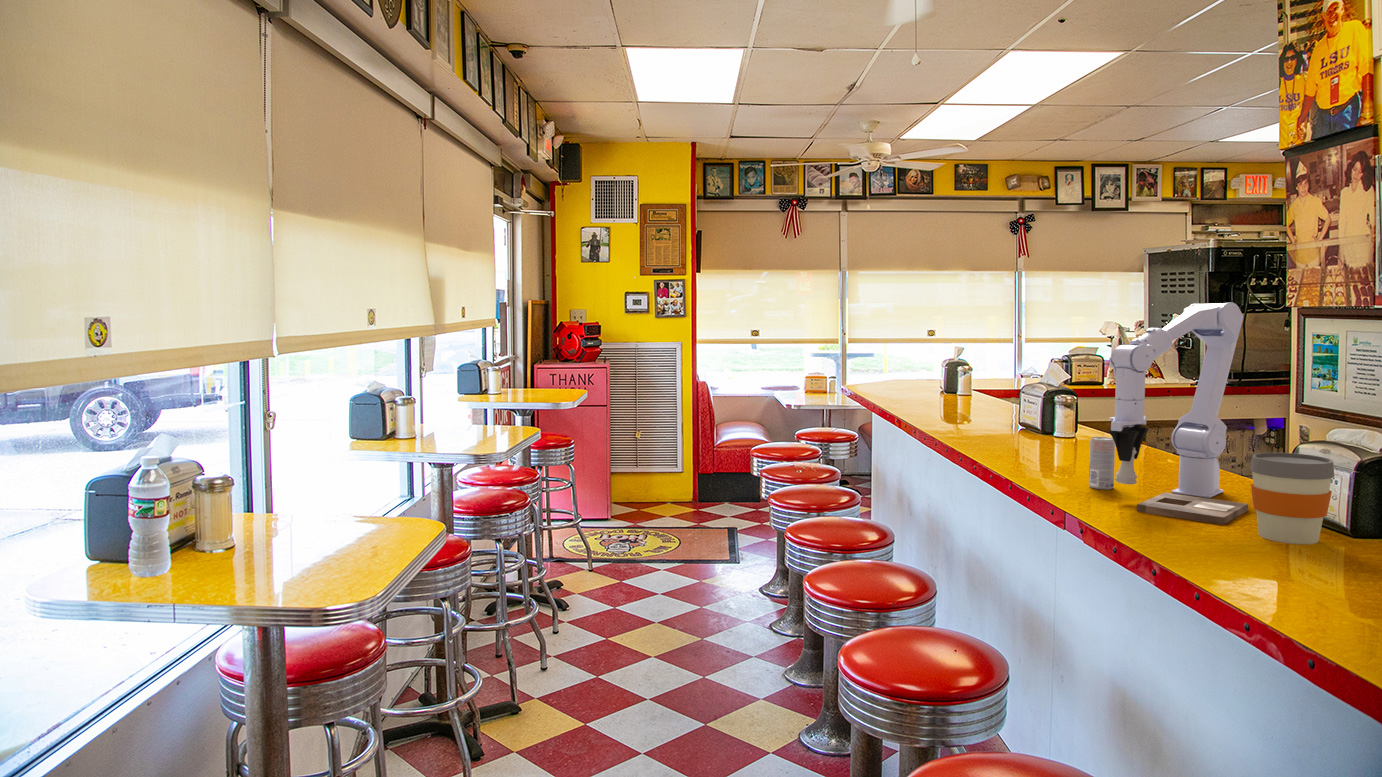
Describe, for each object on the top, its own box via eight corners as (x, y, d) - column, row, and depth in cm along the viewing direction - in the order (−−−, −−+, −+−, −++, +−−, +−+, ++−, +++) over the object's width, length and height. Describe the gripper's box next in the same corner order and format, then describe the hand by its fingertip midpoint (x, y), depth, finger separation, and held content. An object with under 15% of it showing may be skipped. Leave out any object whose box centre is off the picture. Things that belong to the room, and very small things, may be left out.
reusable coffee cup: (1255, 525, 159) (1258, 450, 158) (1336, 536, 150) (1340, 457, 149) (1240, 538, 150) (1243, 458, 149) (1325, 551, 141) (1329, 467, 140)
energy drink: (1108, 485, 198) (1109, 436, 197) (1117, 489, 193) (1118, 440, 192) (1085, 485, 198) (1086, 436, 197) (1094, 489, 193) (1095, 440, 192)
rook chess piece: (1134, 481, 182) (1137, 446, 181) (1139, 485, 178) (1142, 449, 177) (1112, 479, 183) (1115, 444, 182) (1117, 483, 179) (1120, 448, 178)
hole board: (1164, 499, 182) (1164, 491, 182) (1247, 510, 170) (1248, 502, 170) (1136, 511, 172) (1137, 503, 172) (1223, 524, 160) (1223, 516, 160)
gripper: (1123, 395, 186) (1122, 453, 188) (1097, 400, 177) (1095, 461, 178) (1157, 397, 181) (1155, 457, 182) (1131, 402, 172) (1129, 465, 173)
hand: (1128, 459), depth 180 cm, fingers closed on rook chess piece, 3 cm apart
